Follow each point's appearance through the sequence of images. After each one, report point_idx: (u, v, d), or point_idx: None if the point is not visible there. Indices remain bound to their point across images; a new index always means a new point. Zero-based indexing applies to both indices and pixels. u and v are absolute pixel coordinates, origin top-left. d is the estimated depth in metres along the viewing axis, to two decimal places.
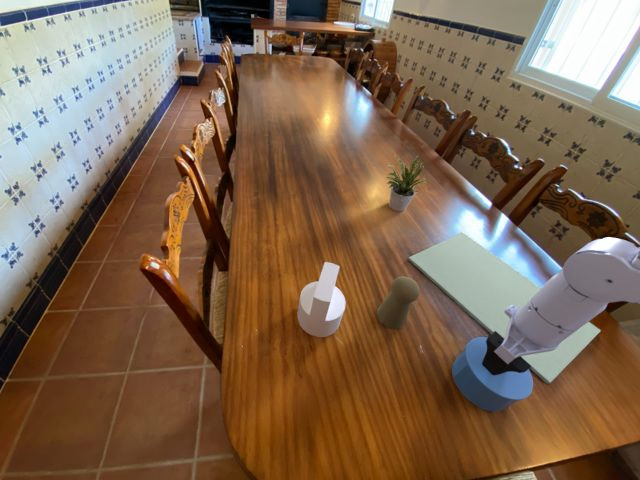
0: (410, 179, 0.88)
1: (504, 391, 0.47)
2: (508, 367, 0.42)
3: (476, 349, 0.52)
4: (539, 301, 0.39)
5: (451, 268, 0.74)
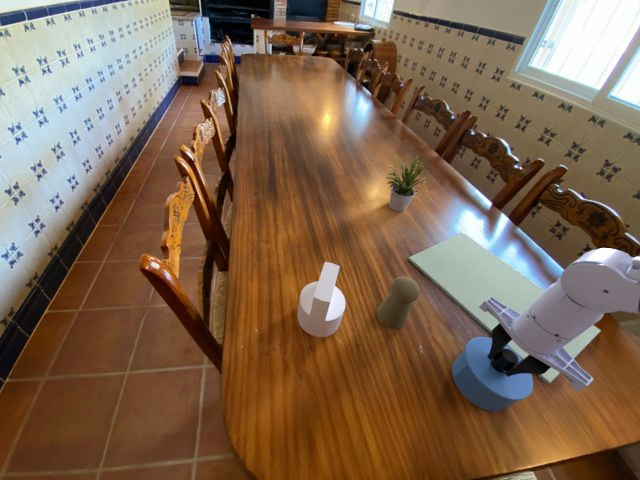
0: (410, 179, 0.88)
1: (504, 391, 0.47)
2: None
3: (476, 349, 0.52)
4: (537, 310, 0.40)
5: (451, 268, 0.74)
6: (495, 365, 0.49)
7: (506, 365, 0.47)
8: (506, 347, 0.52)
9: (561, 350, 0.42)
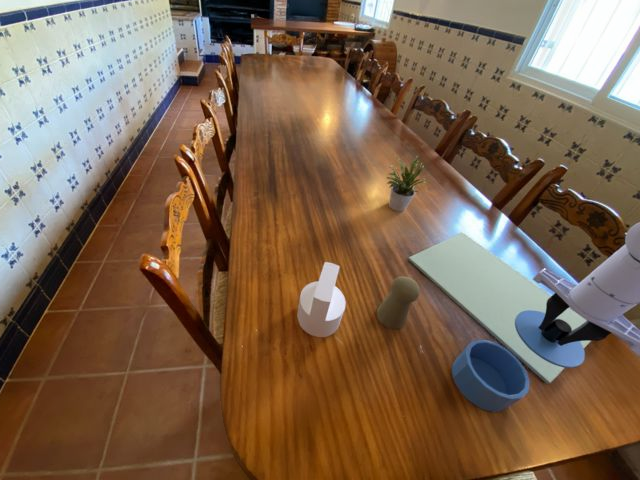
0: (410, 179, 0.88)
1: (558, 359, 0.48)
2: None
3: (526, 321, 0.53)
4: (597, 271, 0.42)
5: (451, 268, 0.74)
6: (547, 335, 0.50)
7: (559, 334, 0.49)
8: None
9: (619, 317, 0.44)
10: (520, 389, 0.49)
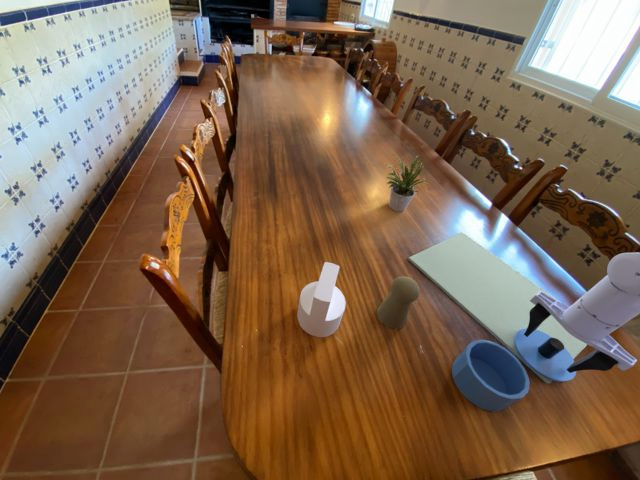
0: (410, 179, 0.88)
1: (552, 374, 0.54)
2: None
3: (524, 338, 0.59)
4: (586, 294, 0.48)
5: (451, 268, 0.74)
6: (542, 352, 0.56)
7: (553, 351, 0.55)
8: (549, 337, 0.60)
9: (607, 337, 0.49)
10: (520, 389, 0.49)
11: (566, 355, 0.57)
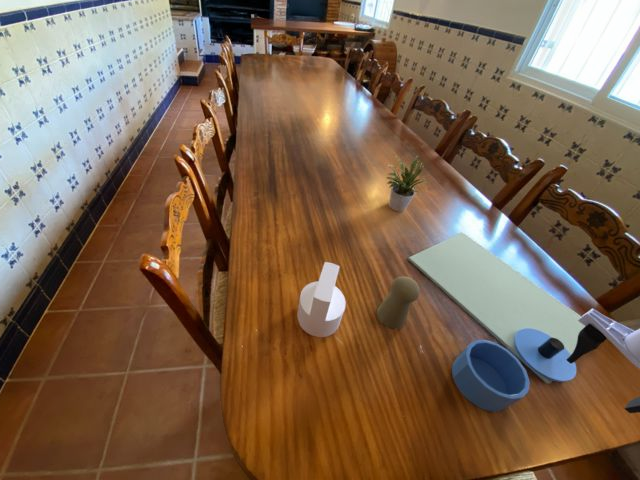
0: (410, 179, 0.88)
1: (552, 374, 0.54)
2: None
3: (524, 338, 0.59)
4: None
5: (451, 268, 0.74)
6: (542, 352, 0.56)
7: (553, 351, 0.55)
8: (549, 337, 0.60)
9: None
10: (520, 389, 0.49)
11: (566, 355, 0.57)
